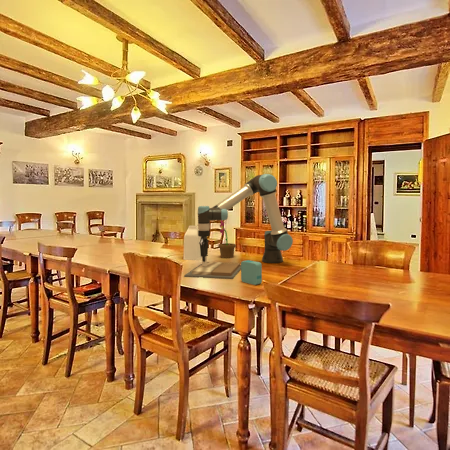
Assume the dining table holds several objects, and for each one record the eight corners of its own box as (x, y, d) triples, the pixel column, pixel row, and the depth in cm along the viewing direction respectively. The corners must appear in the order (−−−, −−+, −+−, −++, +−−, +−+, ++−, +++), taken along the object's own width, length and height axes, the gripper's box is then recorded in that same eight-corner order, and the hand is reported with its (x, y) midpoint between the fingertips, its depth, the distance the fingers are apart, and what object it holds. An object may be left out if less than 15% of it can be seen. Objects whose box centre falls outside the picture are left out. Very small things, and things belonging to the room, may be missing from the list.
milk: (183, 259, 259) (182, 226, 256) (189, 257, 270) (188, 225, 267) (197, 260, 255) (197, 226, 253) (203, 257, 266) (202, 225, 264)
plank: (222, 265, 231) (222, 262, 230) (210, 275, 202) (210, 271, 201) (205, 264, 233) (205, 261, 233) (191, 274, 204) (191, 271, 204)
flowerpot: (216, 256, 271) (215, 219, 269) (232, 255, 276) (232, 218, 273) (221, 259, 258) (220, 220, 255) (238, 258, 262) (238, 220, 260)
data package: (262, 284, 184) (261, 262, 183) (256, 285, 181) (256, 263, 180) (246, 280, 193) (246, 259, 192) (240, 281, 190) (240, 260, 189)
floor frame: (243, 266, 230) (243, 262, 230) (232, 279, 196) (232, 273, 196) (201, 265, 237) (201, 261, 237) (184, 276, 203) (184, 271, 203)
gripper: (201, 229, 222) (201, 264, 224) (195, 231, 209) (195, 268, 211) (212, 229, 220) (212, 264, 222) (206, 231, 208) (207, 268, 210)
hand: (204, 266), depth 217 cm, fingers closed
